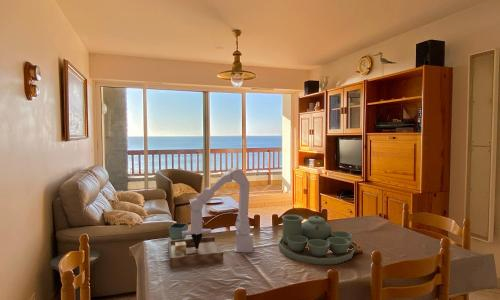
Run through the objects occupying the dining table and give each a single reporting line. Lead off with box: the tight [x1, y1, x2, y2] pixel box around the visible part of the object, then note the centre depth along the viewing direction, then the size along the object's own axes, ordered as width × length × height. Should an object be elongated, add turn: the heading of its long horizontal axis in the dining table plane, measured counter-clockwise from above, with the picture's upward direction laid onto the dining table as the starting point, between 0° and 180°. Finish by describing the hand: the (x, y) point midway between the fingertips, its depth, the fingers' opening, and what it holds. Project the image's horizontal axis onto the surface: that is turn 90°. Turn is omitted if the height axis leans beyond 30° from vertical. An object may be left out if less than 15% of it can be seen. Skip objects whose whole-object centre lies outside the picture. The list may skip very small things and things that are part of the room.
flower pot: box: [168, 222, 189, 240], centre depth 179 cm, size 9×9×9 cm
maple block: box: [175, 242, 186, 254], centre depth 157 cm, size 5×5×4 cm
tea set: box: [278, 214, 356, 266], centre depth 167 cm, size 40×40×16 cm
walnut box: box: [167, 235, 224, 268], centre depth 159 cm, size 25×24×4 cm
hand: (196, 248), depth 159 cm, fingers closed
